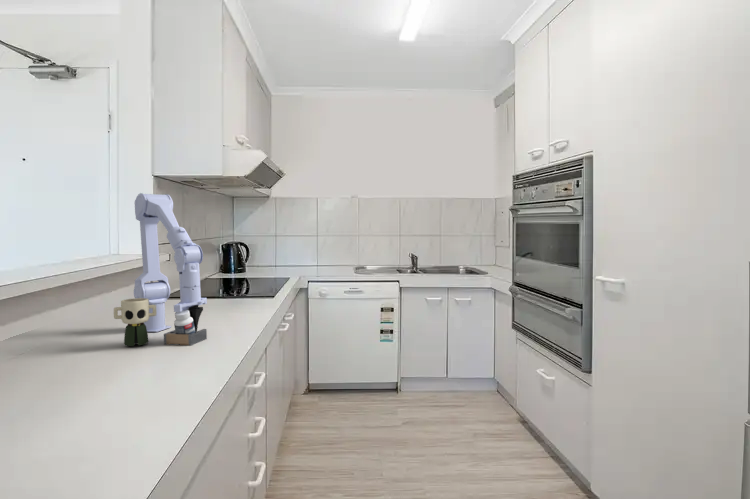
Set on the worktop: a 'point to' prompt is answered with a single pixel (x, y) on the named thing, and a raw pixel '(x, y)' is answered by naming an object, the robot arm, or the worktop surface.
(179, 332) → the pill bottle
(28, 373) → the worktop surface
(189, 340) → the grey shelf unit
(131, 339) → the character mug
